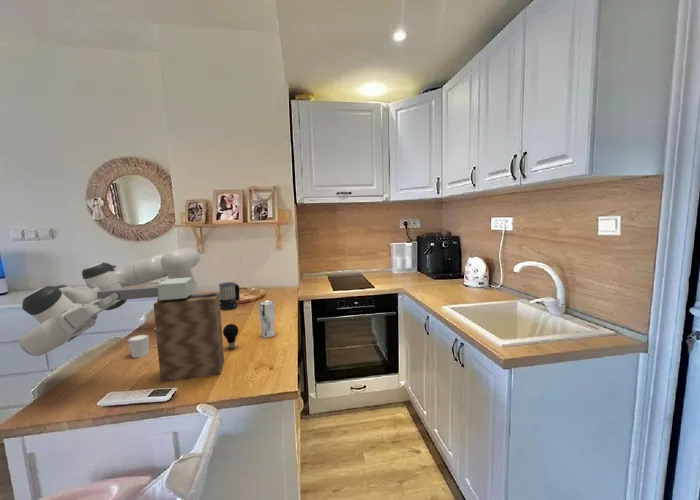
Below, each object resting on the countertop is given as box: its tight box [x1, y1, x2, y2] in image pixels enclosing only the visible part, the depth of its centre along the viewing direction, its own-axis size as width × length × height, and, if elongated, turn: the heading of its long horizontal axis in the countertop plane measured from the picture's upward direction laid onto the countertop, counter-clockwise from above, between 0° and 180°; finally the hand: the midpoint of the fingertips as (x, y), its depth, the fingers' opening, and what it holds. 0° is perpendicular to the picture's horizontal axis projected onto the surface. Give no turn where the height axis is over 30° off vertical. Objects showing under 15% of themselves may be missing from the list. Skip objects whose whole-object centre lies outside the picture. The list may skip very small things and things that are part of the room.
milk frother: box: [218, 281, 240, 311], centre depth 189 cm, size 14×16×15 cm
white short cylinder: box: [127, 334, 150, 359], centre depth 124 cm, size 7×7×7 cm
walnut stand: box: [153, 291, 225, 383], centre depth 108 cm, size 18×10×27 cm, turn 105°
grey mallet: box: [97, 277, 193, 300], centre depth 103 cm, size 26×10×5 cm, turn 105°
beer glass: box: [258, 300, 276, 339], centre depth 141 cm, size 7×7×15 cm
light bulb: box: [222, 323, 239, 349], centre depth 128 cm, size 6×6×10 cm
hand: (120, 292), depth 102 cm, fingers open, 3 cm apart
